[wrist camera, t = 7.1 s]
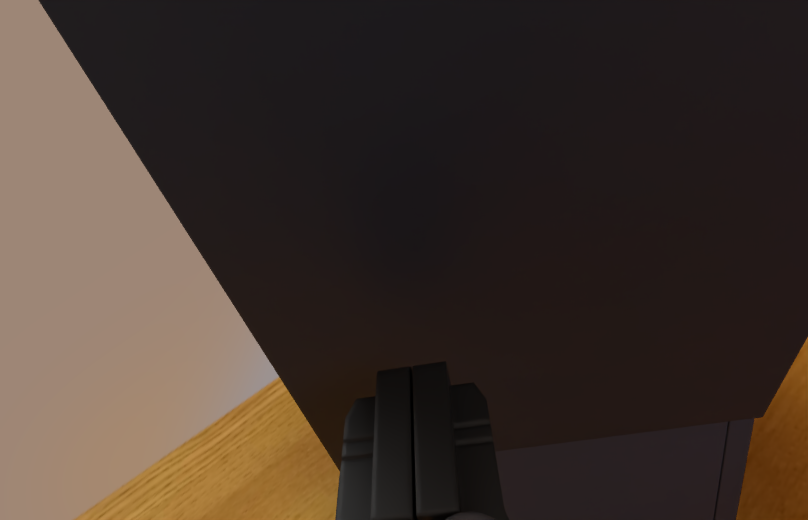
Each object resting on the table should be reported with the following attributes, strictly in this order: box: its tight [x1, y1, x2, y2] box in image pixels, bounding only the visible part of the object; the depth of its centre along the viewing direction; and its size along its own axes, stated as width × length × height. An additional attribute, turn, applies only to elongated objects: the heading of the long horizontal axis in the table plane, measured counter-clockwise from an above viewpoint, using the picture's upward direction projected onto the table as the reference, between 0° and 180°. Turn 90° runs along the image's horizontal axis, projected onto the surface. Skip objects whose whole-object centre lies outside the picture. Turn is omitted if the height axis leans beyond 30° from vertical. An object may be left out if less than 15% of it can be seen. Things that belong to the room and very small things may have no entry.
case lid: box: [39, 0, 808, 471], centre depth 14 cm, size 16×14×1 cm
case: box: [495, 418, 754, 520], centre depth 29 cm, size 16×14×9 cm
